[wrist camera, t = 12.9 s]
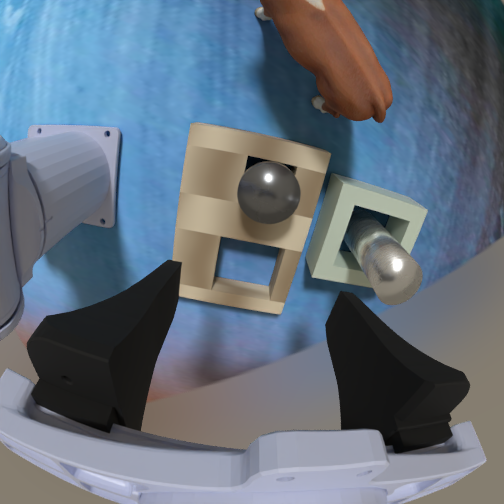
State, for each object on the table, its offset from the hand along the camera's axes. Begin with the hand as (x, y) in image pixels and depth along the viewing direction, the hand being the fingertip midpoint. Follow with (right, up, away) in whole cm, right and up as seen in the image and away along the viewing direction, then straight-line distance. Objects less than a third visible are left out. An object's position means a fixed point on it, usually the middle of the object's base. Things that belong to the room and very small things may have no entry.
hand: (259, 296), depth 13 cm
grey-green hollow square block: (+8, +4, +9) cm, 13 cm away
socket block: (0, +4, +9) cm, 10 cm away
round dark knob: (+1, +7, +7) cm, 10 cm away
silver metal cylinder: (+8, +4, +9) cm, 13 cm away
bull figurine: (+3, +16, +3) cm, 17 cm away
